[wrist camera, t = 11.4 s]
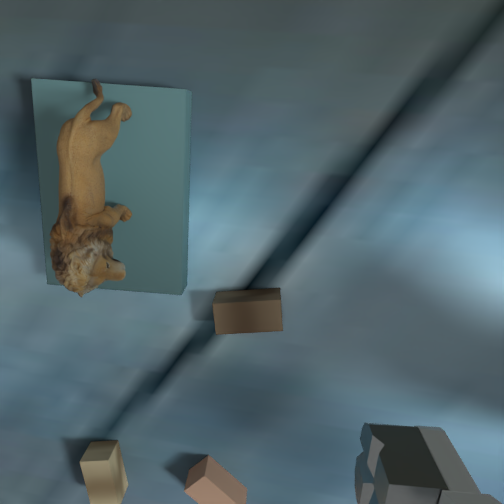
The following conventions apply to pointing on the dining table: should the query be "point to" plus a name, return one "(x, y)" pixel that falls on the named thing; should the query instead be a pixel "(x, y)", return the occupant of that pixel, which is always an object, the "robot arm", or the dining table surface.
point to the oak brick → (104, 472)
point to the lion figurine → (86, 200)
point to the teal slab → (127, 176)
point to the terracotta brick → (214, 484)
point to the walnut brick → (247, 311)
